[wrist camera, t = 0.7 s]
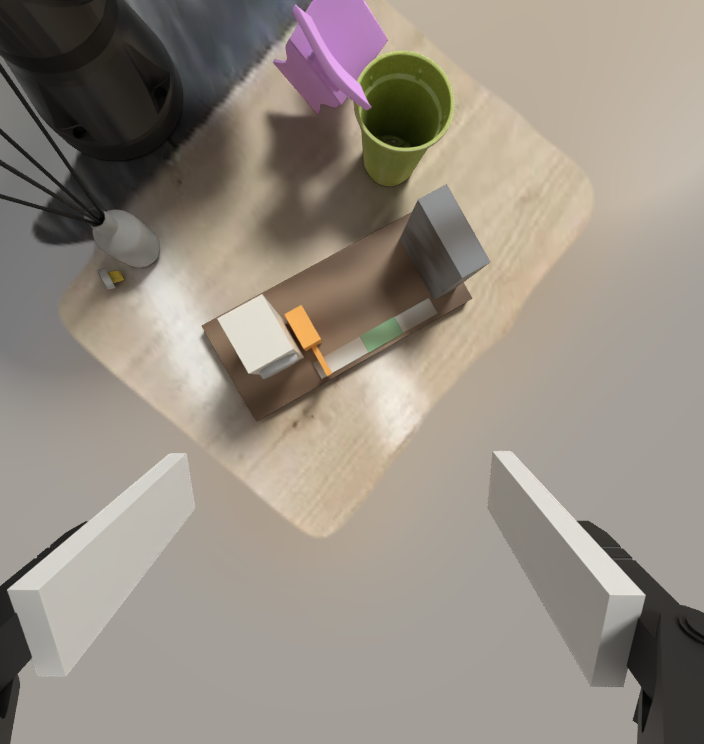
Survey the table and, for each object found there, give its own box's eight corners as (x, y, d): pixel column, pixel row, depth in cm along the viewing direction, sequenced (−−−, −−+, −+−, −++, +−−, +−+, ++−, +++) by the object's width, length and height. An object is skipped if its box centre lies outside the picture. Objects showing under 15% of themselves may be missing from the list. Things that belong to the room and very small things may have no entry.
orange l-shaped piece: (288, 319, 36) (281, 310, 31) (304, 311, 36) (299, 300, 31) (322, 379, 36) (320, 379, 31) (338, 370, 36) (338, 369, 31)
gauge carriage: (249, 335, 35) (217, 318, 25) (281, 318, 36) (262, 294, 26) (275, 380, 35) (252, 380, 25) (307, 362, 36) (297, 355, 26)
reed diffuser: (147, 205, 37) (-74, -3, 17) (198, 240, 37) (41, 76, 17) (93, 279, 36) (-202, 154, 16) (146, 313, 36) (-80, 233, 16)
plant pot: (422, 207, 39) (447, 158, 30) (344, 194, 38) (347, 140, 29) (432, 131, 39) (460, 60, 30) (354, 117, 38) (361, 41, 30)
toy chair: (376, 48, 35) (436, 33, 24) (324, 122, 38) (357, 138, 28) (319, -41, 30) (362, -109, 19) (264, 52, 33) (275, 38, 23)
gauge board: (206, 327, 37) (162, 309, 27) (417, 213, 38) (445, 159, 29) (259, 419, 37) (233, 433, 27) (467, 301, 39) (510, 276, 29)
